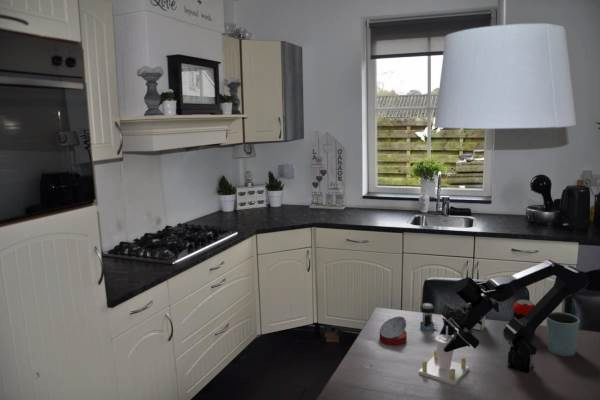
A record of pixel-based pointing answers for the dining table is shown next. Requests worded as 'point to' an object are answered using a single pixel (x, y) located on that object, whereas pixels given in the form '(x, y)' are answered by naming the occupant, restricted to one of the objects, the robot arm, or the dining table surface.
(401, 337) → the canned food
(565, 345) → the teal cylindrical pot
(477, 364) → the dining table surface
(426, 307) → the push button
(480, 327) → the syrup box
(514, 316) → the soda can
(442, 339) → the smoothie
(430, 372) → the pin plate
